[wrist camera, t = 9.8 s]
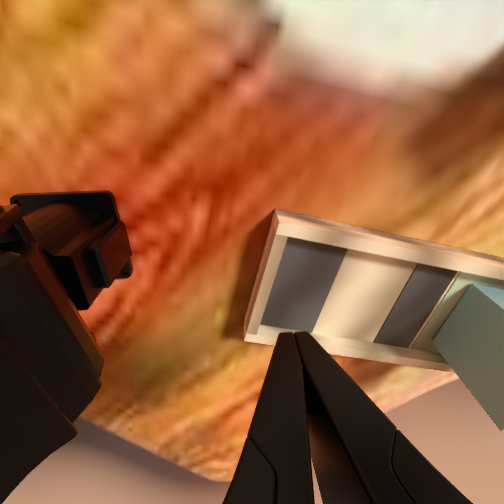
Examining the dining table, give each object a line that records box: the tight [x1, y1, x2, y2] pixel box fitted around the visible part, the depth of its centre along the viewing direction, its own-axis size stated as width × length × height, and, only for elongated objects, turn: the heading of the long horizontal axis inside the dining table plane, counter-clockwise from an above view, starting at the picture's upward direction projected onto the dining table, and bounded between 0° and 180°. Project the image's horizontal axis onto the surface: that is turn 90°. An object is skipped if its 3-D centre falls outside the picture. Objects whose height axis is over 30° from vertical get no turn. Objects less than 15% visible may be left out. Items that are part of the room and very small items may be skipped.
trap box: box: [244, 209, 504, 373], centre depth 23 cm, size 20×10×2 cm, turn 77°
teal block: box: [432, 284, 504, 432], centre depth 20 cm, size 3×6×8 cm, turn 167°
